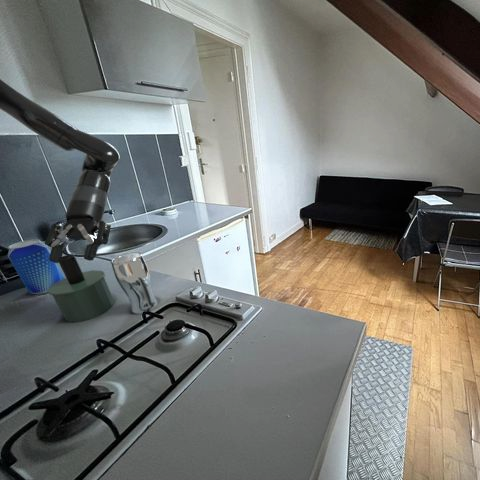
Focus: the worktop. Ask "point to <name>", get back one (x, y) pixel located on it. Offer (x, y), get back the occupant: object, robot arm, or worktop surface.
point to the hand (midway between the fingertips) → (71, 260)
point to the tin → (85, 302)
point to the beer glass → (135, 281)
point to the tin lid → (74, 277)
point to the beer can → (34, 265)
